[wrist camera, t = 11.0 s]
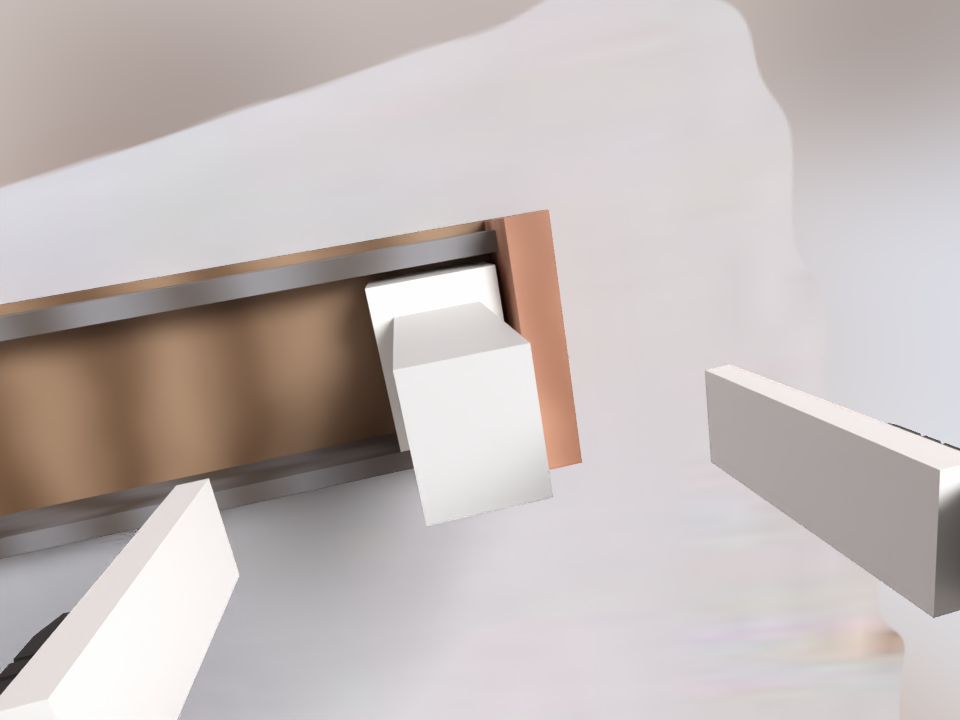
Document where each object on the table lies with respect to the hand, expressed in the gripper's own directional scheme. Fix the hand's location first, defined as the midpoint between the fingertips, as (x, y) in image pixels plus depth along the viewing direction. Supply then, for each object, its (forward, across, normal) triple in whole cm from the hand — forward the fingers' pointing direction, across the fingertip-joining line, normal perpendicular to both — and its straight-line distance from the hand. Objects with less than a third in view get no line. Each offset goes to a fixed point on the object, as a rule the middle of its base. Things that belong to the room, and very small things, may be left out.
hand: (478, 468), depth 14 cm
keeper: (+16, 0, 0) cm, 16 cm away
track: (+18, +10, 0) cm, 21 cm away
